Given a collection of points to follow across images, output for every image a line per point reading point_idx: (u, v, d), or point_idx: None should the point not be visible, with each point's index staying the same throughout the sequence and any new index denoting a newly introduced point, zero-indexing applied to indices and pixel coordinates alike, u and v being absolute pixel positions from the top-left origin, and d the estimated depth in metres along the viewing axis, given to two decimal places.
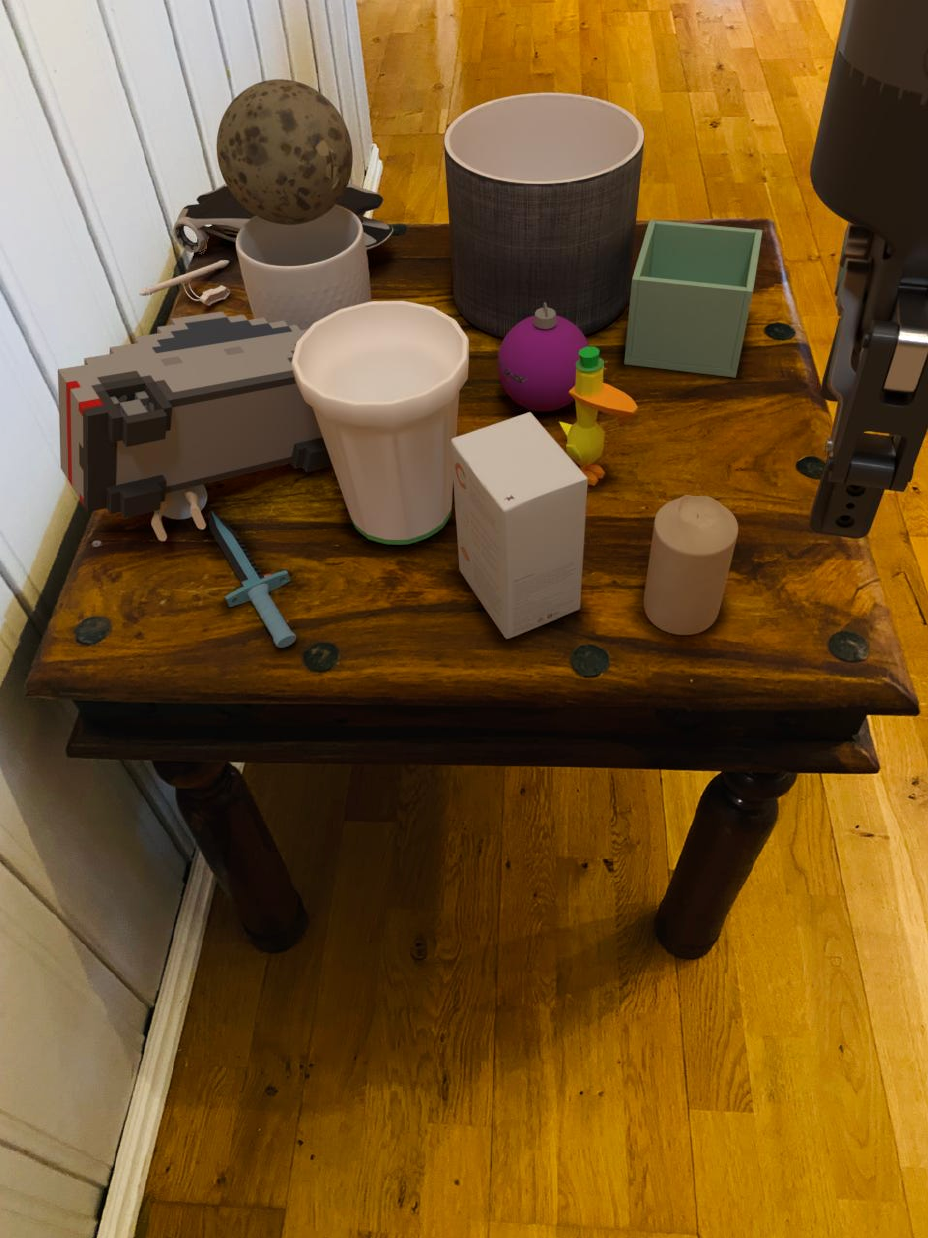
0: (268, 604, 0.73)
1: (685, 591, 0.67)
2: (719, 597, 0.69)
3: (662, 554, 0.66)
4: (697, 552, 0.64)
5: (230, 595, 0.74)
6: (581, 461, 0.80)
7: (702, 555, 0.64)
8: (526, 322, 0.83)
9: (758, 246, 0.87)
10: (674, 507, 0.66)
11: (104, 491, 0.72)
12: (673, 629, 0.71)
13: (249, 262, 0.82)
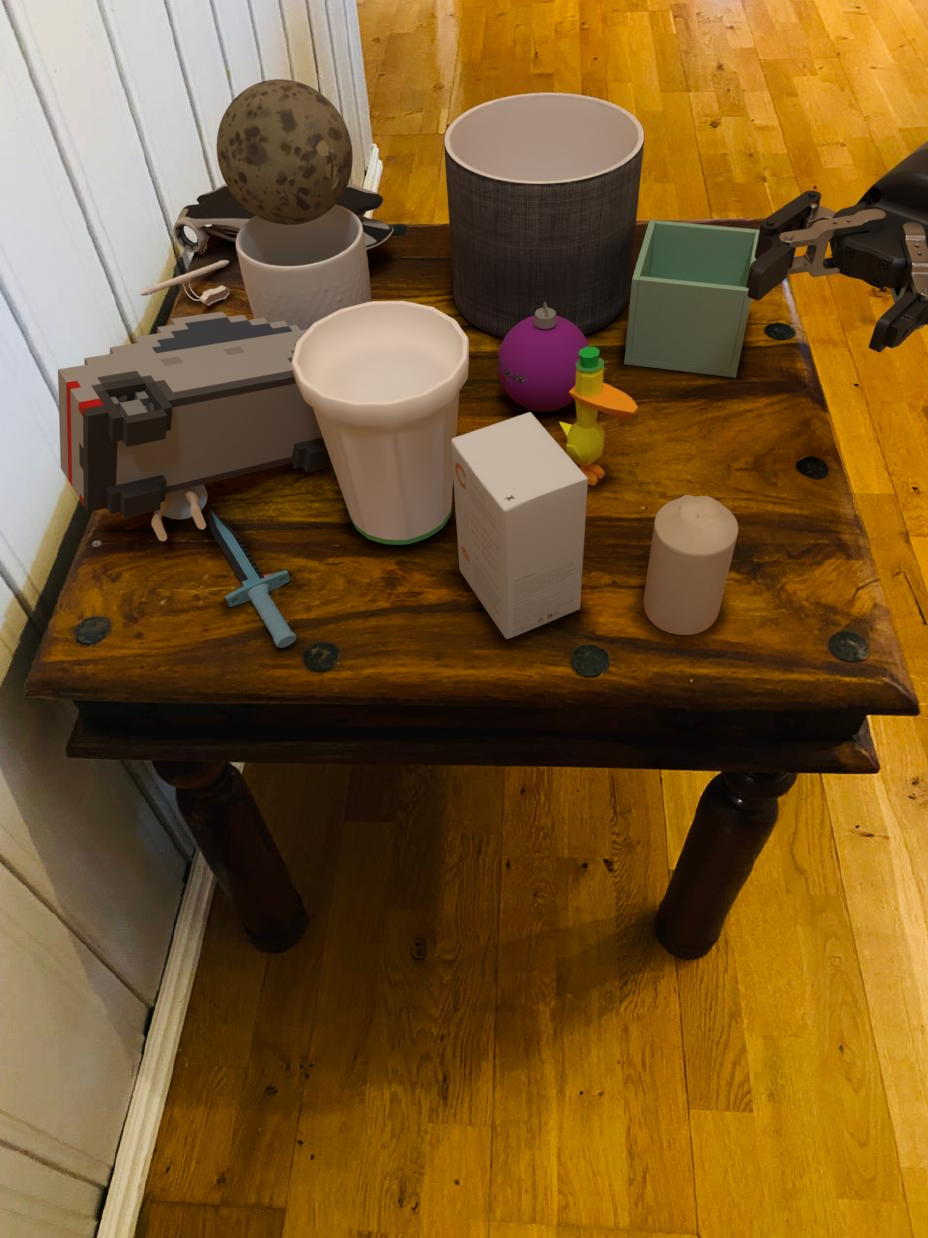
0: (268, 604, 0.73)
1: (685, 591, 0.67)
2: (719, 597, 0.69)
3: (662, 554, 0.66)
4: (697, 552, 0.64)
5: (230, 595, 0.74)
6: (581, 461, 0.80)
7: (702, 555, 0.64)
8: (526, 322, 0.83)
9: None
10: (674, 507, 0.66)
11: (104, 491, 0.72)
12: (673, 629, 0.71)
13: (249, 262, 0.82)
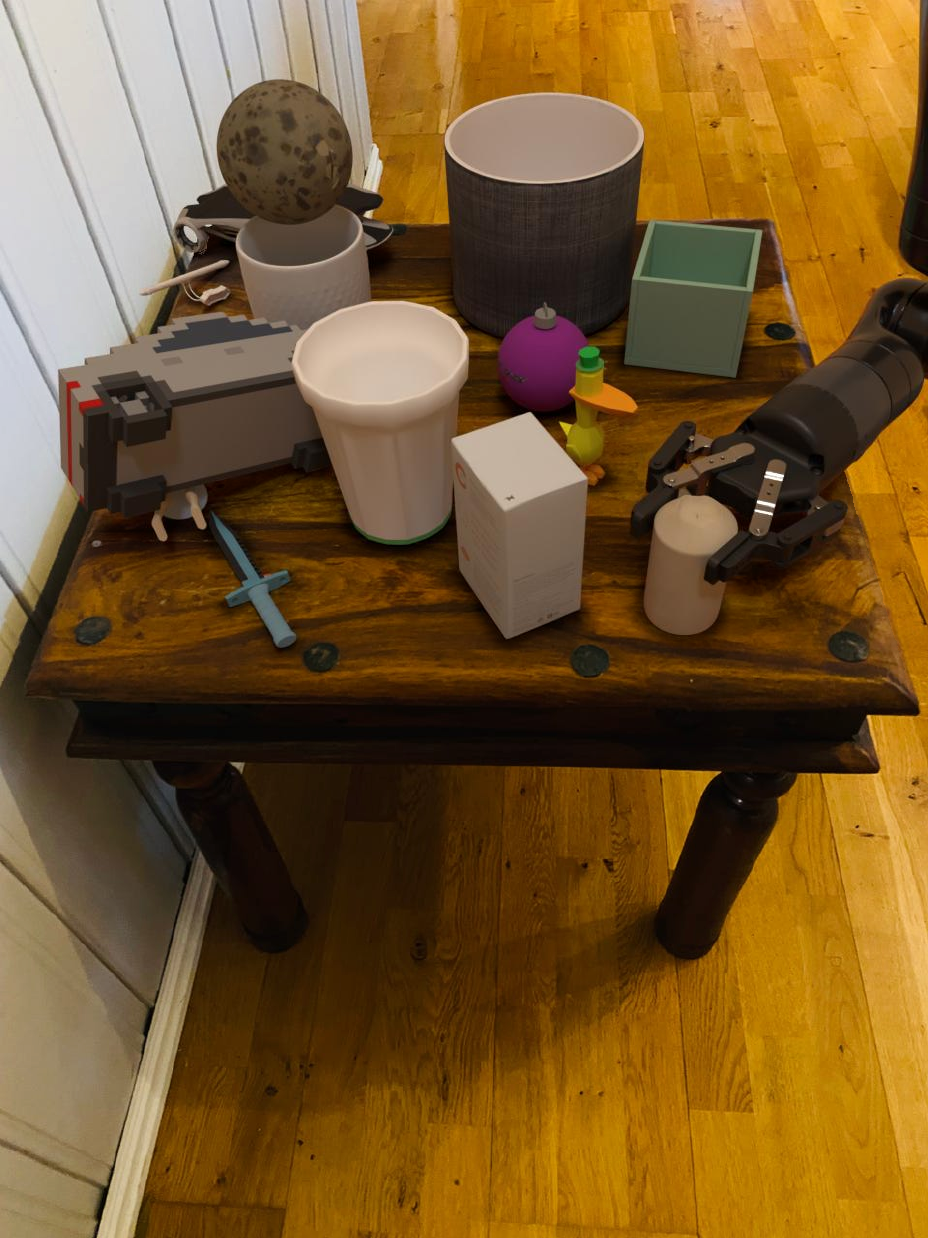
0: (268, 604, 0.73)
1: (685, 591, 0.67)
2: (719, 597, 0.69)
3: (662, 554, 0.66)
4: (697, 552, 0.64)
5: (230, 595, 0.74)
6: (581, 461, 0.80)
7: (701, 555, 0.64)
8: (526, 322, 0.83)
9: (758, 246, 0.87)
10: (674, 507, 0.66)
11: (104, 491, 0.72)
12: (673, 629, 0.71)
13: (249, 262, 0.82)
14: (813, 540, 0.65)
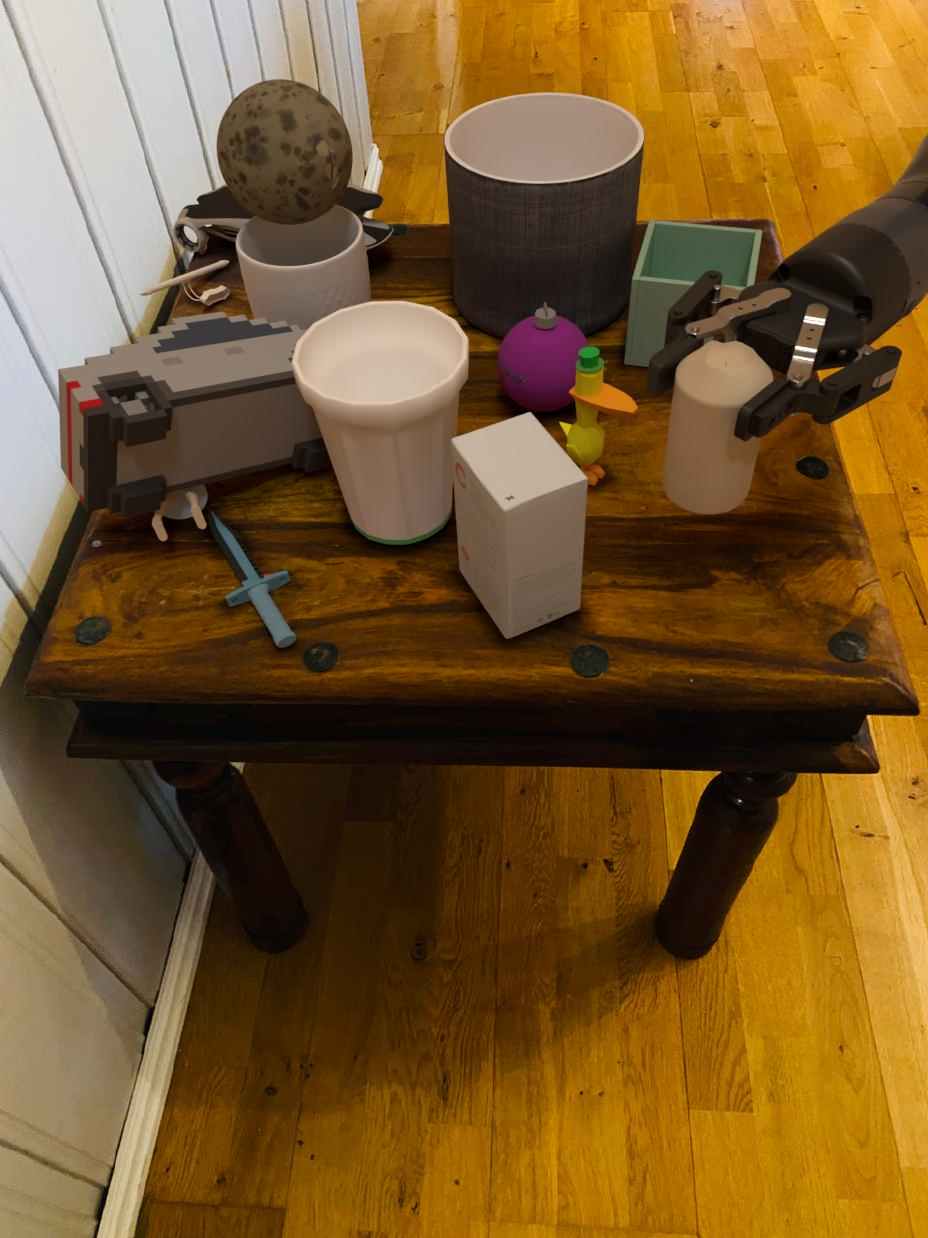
0: (268, 604, 0.73)
1: (712, 456, 0.58)
2: (750, 466, 0.60)
3: (685, 410, 0.57)
4: (726, 403, 0.55)
5: (230, 595, 0.74)
6: (581, 461, 0.80)
7: (731, 406, 0.55)
8: (526, 322, 0.83)
9: (758, 246, 0.87)
10: (698, 354, 0.57)
11: (104, 491, 0.72)
12: (697, 507, 0.61)
13: (249, 262, 0.82)
14: (861, 389, 0.56)
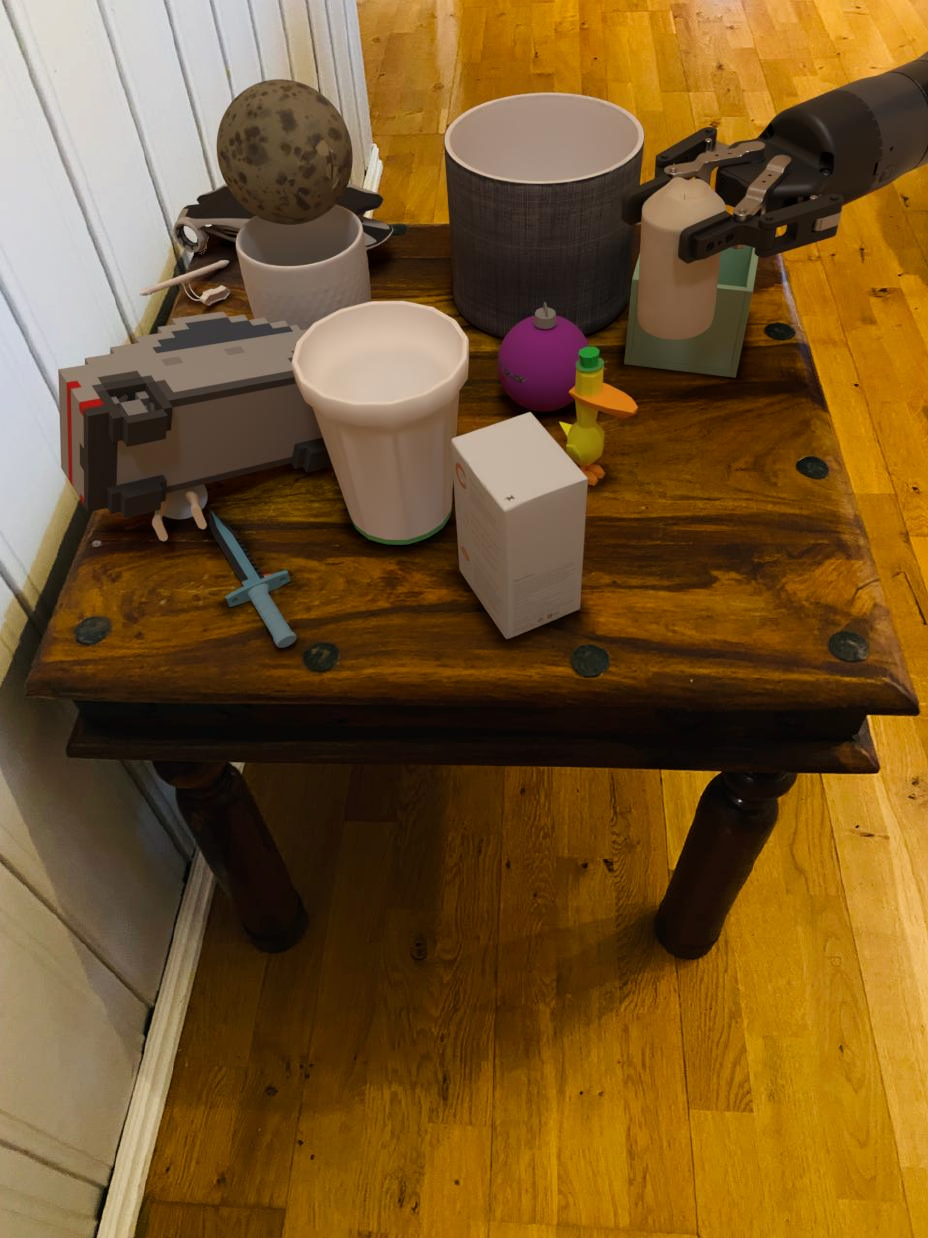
0: (268, 604, 0.73)
1: (666, 280, 0.67)
2: (705, 296, 0.69)
3: (645, 236, 0.67)
4: (674, 228, 0.64)
5: (230, 595, 0.74)
6: (581, 461, 0.80)
7: (679, 231, 0.64)
8: (526, 322, 0.83)
9: None
10: (663, 187, 0.66)
11: (104, 491, 0.72)
12: (658, 331, 0.71)
13: (249, 262, 0.82)
14: (799, 228, 0.64)
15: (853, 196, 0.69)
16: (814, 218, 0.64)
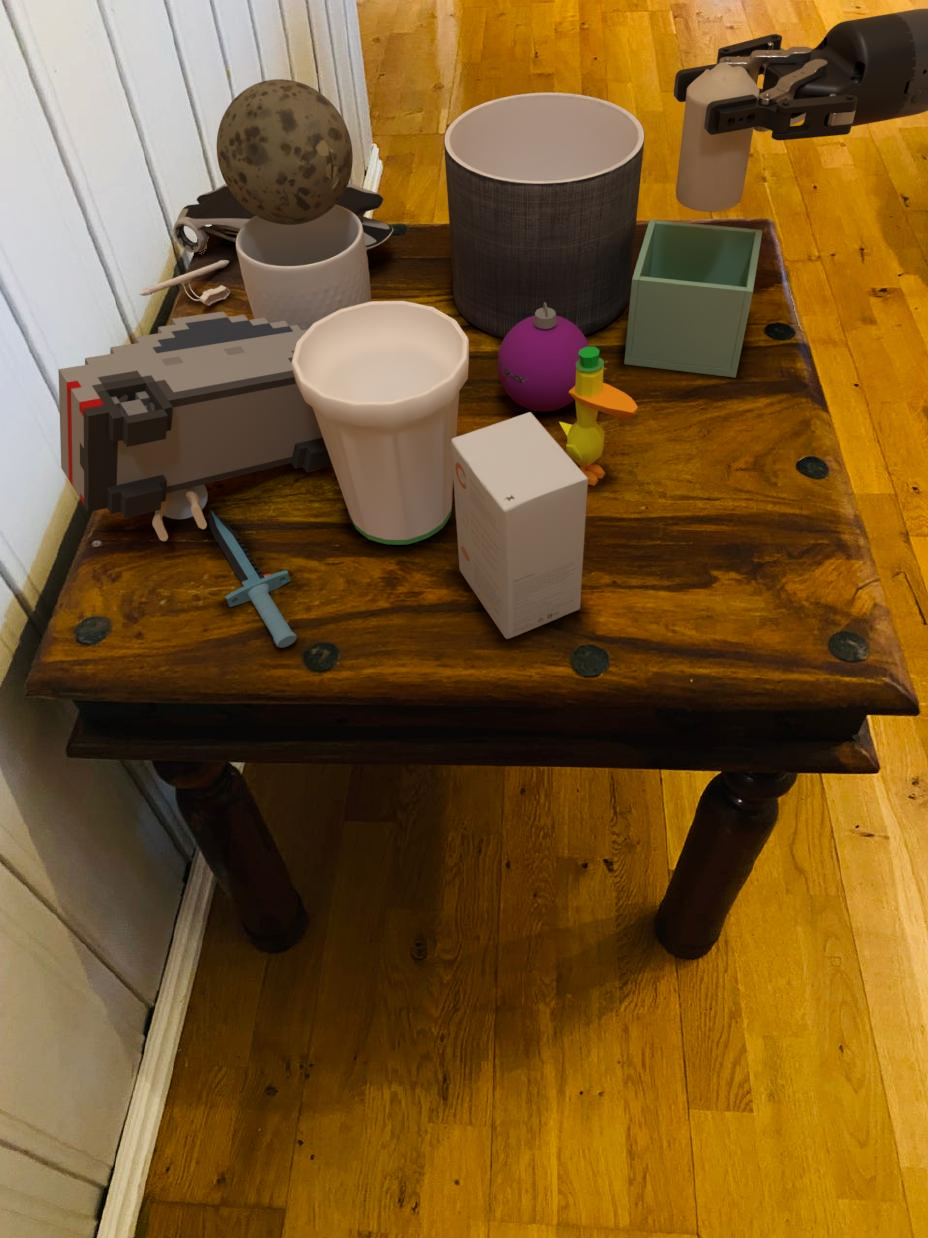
0: (268, 604, 0.73)
1: (696, 151, 0.78)
2: (730, 174, 0.79)
3: (685, 109, 0.78)
4: (706, 102, 0.75)
5: (230, 595, 0.74)
6: (581, 461, 0.80)
7: None
8: (526, 322, 0.83)
9: (758, 246, 0.87)
10: (710, 70, 0.77)
11: (104, 491, 0.72)
12: (686, 201, 0.82)
13: (249, 262, 0.82)
14: (812, 119, 0.73)
15: (884, 111, 0.78)
16: (827, 112, 0.73)
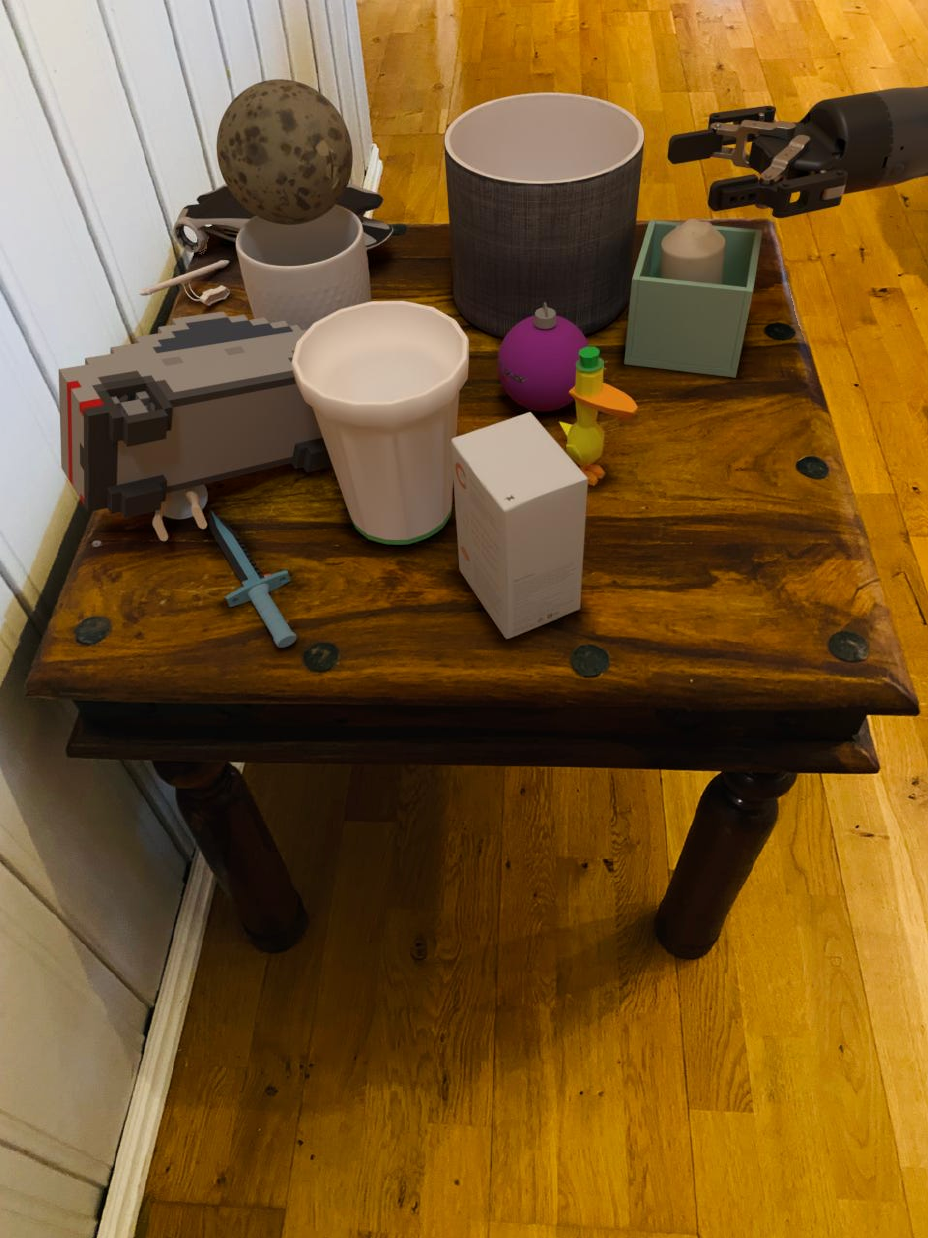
0: (268, 604, 0.73)
1: None
2: None
3: (661, 259, 0.88)
4: (678, 254, 0.86)
5: (230, 595, 0.74)
6: (581, 461, 0.80)
7: (680, 257, 0.86)
8: (526, 322, 0.83)
9: (758, 246, 0.87)
10: (681, 225, 0.87)
11: (104, 491, 0.72)
12: None
13: (249, 262, 0.82)
14: (810, 195, 0.77)
15: (864, 183, 0.82)
16: (822, 188, 0.77)
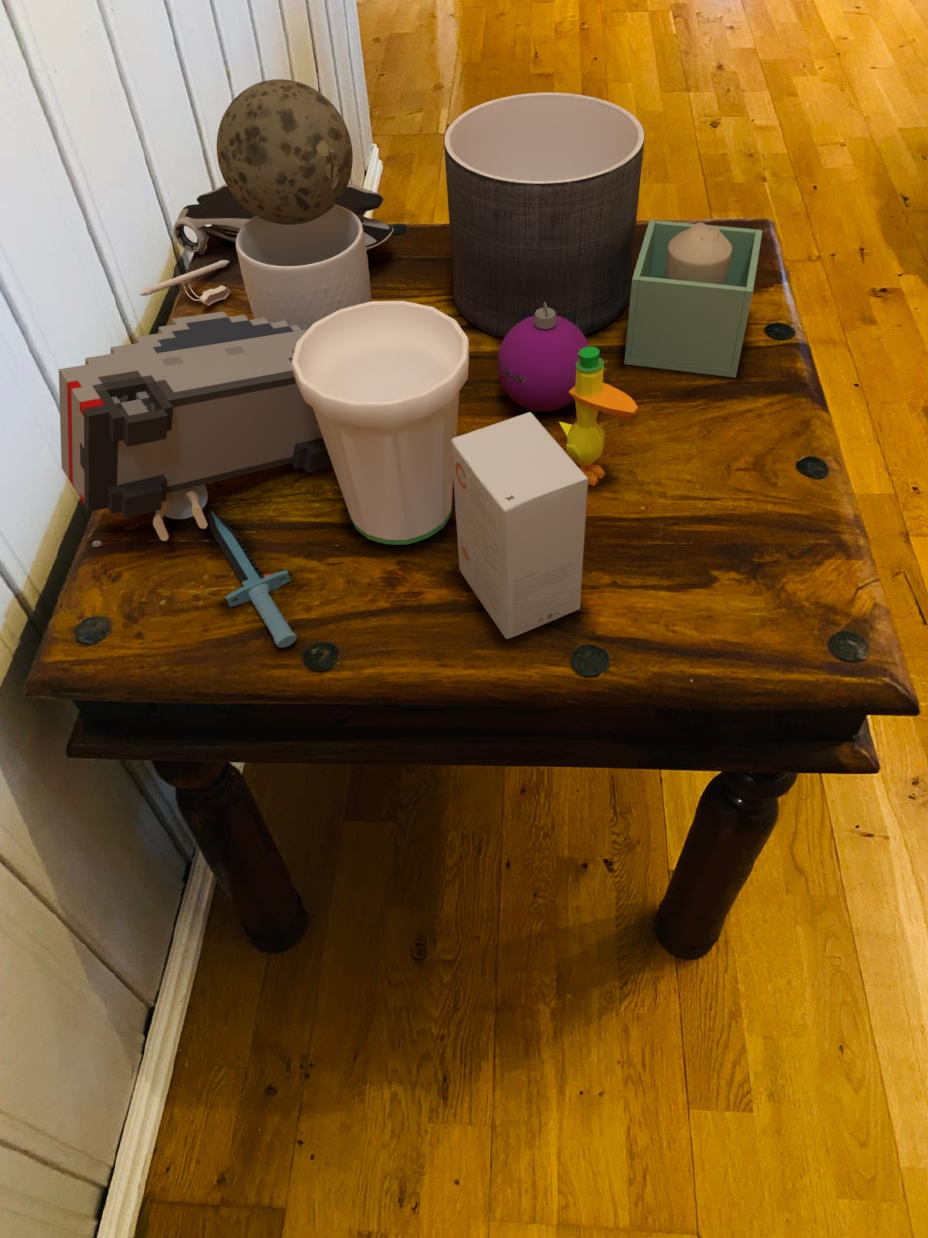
0: (268, 604, 0.73)
1: None
2: None
3: (667, 261, 0.88)
4: (685, 259, 0.85)
5: (230, 595, 0.74)
6: (581, 461, 0.80)
7: (687, 263, 0.85)
8: (526, 322, 0.83)
9: (758, 246, 0.87)
10: (689, 228, 0.87)
11: (104, 491, 0.72)
12: None
13: (249, 262, 0.82)
14: None
15: None
16: None
